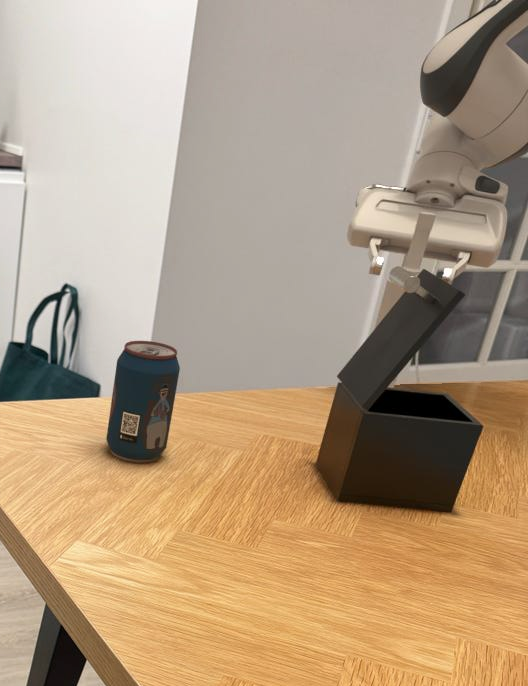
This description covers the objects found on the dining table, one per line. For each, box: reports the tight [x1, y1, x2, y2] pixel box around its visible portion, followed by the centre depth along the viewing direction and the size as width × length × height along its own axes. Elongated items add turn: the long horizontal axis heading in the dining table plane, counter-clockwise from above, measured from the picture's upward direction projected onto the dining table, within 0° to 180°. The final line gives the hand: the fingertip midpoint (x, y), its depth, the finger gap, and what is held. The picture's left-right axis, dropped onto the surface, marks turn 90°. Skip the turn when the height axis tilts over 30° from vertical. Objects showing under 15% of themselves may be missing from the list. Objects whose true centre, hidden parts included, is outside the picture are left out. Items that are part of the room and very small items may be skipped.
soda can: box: [106, 340, 181, 463], centre depth 99 cm, size 7×7×12 cm
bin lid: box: [336, 265, 466, 411], centre depth 91 cm, size 13×11×5 cm
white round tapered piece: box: [373, 212, 436, 388], centre depth 121 cm, size 5×5×25 cm
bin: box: [315, 381, 484, 513], centre depth 98 cm, size 13×11×10 cm
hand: (409, 278), depth 121 cm, fingers open, 8 cm apart
